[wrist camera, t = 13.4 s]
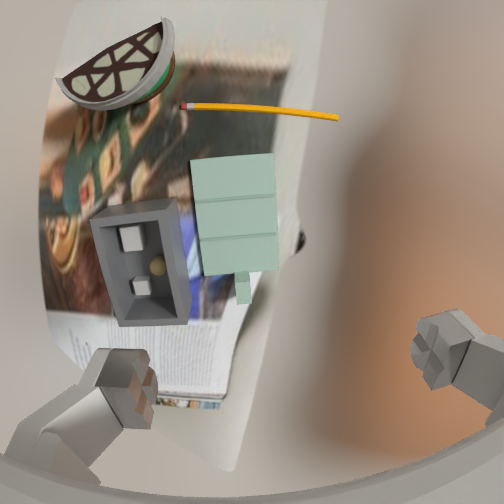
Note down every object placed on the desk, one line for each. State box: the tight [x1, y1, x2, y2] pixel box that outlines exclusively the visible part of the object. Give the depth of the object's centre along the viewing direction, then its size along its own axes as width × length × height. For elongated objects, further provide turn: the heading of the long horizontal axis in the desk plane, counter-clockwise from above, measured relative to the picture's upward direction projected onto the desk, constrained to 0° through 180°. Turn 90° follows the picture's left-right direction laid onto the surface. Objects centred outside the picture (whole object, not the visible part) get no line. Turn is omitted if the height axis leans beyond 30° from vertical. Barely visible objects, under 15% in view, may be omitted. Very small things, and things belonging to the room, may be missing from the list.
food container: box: [55, 17, 175, 111], centre depth 25 cm, size 12×6×10 cm, turn 111°
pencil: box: [181, 103, 339, 121], centre depth 32 cm, size 1×18×1 cm, turn 87°
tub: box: [90, 197, 193, 327], centre depth 35 cm, size 14×9×6 cm, turn 4°
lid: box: [190, 153, 279, 304], centre depth 35 cm, size 17×10×4 cm, turn 4°
